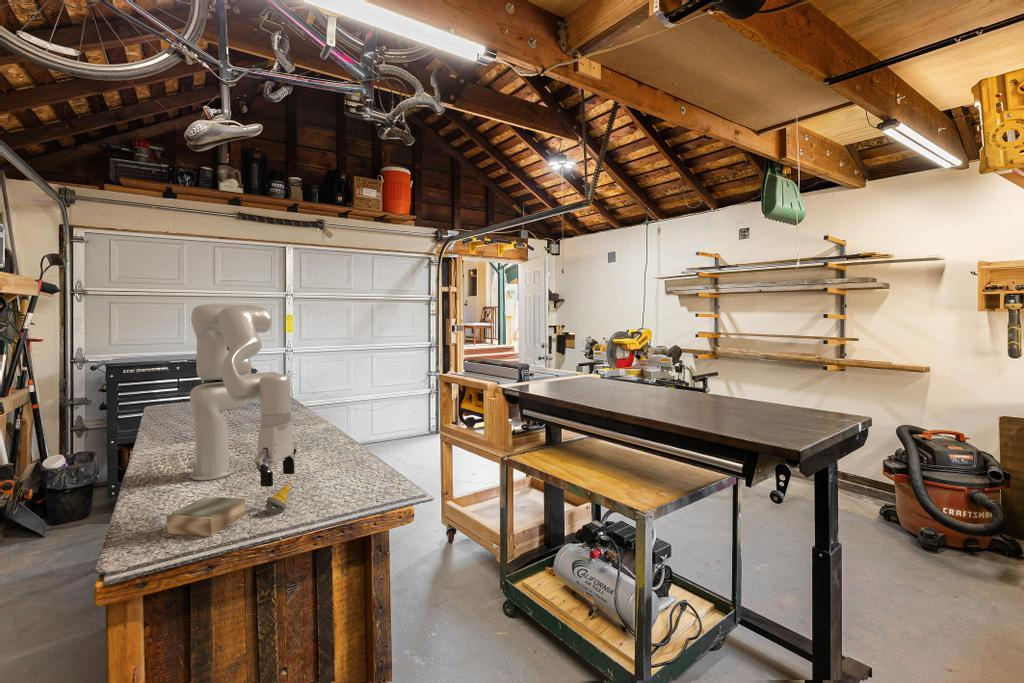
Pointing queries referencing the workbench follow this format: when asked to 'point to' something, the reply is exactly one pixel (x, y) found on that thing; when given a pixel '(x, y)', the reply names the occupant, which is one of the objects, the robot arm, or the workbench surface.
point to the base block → (206, 516)
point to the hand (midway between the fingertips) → (278, 479)
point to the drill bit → (278, 501)
